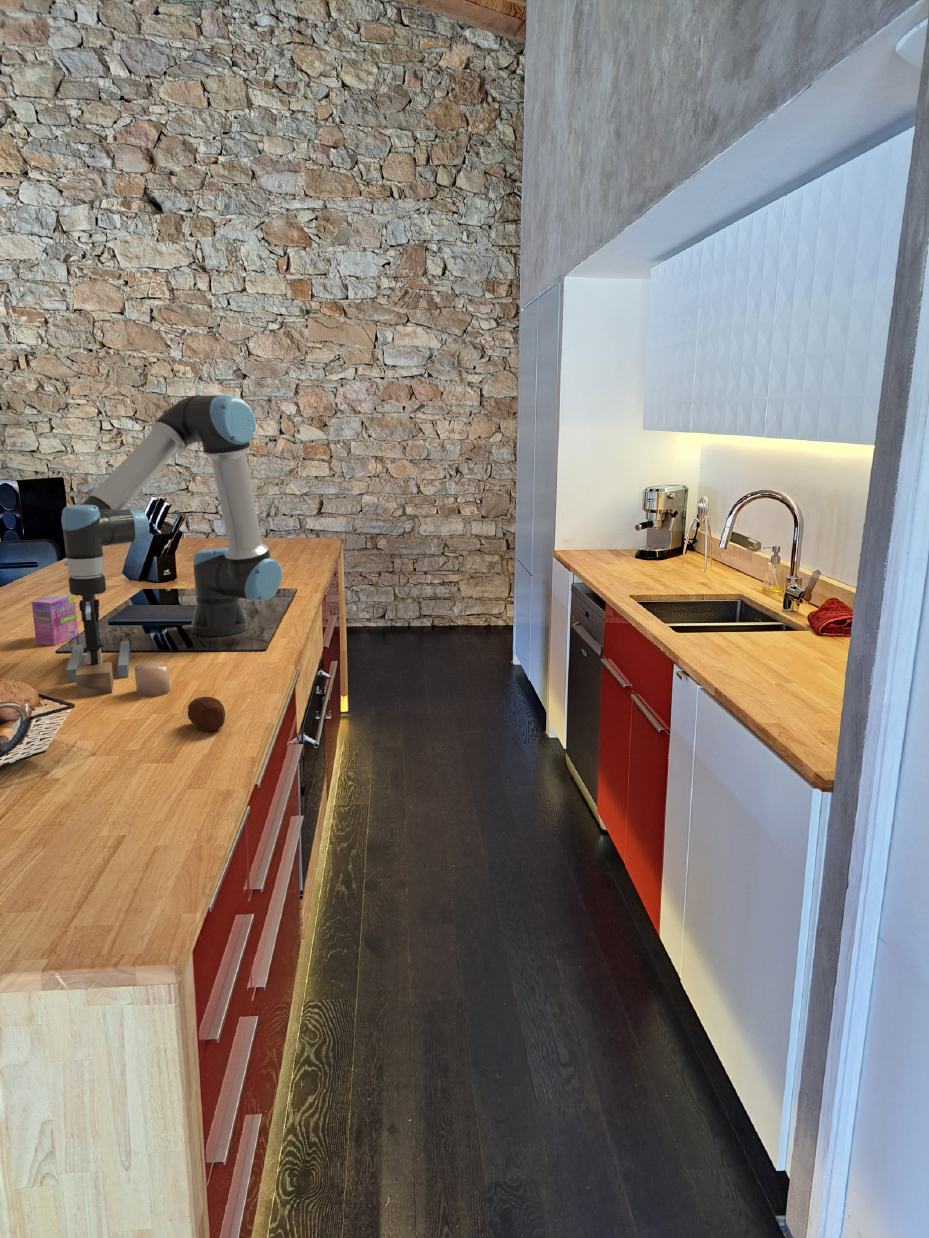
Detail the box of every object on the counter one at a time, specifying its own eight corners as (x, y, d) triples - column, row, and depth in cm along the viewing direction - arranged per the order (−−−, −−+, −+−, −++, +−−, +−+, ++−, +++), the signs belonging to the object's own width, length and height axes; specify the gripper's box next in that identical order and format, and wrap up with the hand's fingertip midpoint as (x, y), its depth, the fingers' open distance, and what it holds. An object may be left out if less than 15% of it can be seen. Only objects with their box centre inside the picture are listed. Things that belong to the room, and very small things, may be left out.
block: (113, 683, 200) (111, 662, 199) (112, 693, 193) (109, 672, 191) (80, 686, 198) (78, 664, 196) (77, 697, 190) (75, 675, 189)
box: (55, 646, 229) (50, 602, 226) (35, 644, 230) (30, 601, 227) (79, 636, 239) (75, 594, 236) (61, 634, 240) (56, 593, 237)
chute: (130, 652, 224) (129, 640, 223) (128, 677, 204) (127, 664, 203) (75, 656, 220) (73, 645, 219) (67, 682, 200) (66, 670, 199)
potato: (194, 738, 168) (191, 706, 166) (184, 722, 176) (182, 692, 174) (230, 732, 171) (228, 701, 169) (220, 717, 179) (218, 687, 177)
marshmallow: (169, 685, 198) (167, 660, 196) (170, 695, 192) (168, 669, 190) (136, 688, 196) (134, 663, 194) (136, 698, 189) (134, 672, 188)
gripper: (70, 571, 198) (80, 670, 204) (65, 582, 186) (76, 687, 192) (106, 569, 200) (115, 667, 206) (103, 580, 189) (113, 683, 194)
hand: (96, 676), depth 199 cm, fingers closed
